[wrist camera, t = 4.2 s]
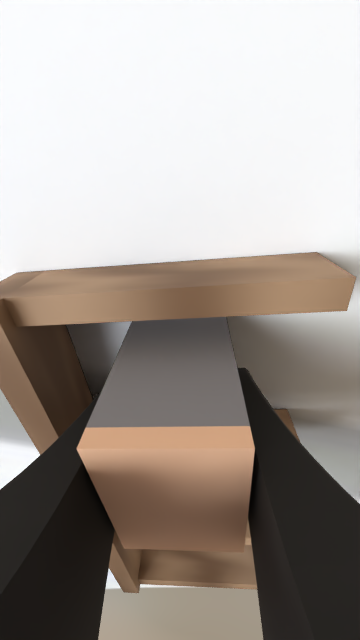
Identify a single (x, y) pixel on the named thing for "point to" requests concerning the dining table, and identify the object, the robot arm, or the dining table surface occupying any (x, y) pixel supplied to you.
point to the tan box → (173, 439)
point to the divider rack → (139, 305)
